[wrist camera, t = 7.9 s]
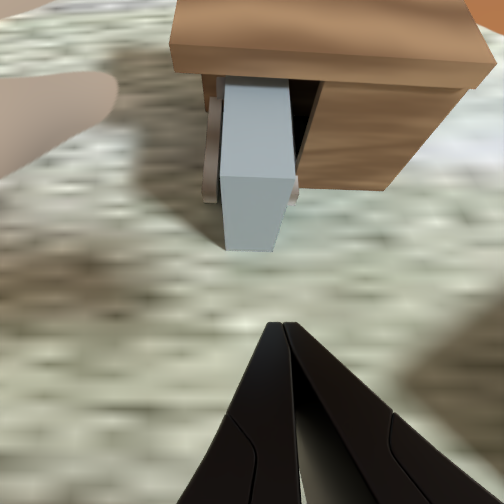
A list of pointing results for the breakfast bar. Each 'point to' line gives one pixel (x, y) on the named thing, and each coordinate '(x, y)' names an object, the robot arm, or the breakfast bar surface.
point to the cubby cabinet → (337, 76)
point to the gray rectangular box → (255, 160)
